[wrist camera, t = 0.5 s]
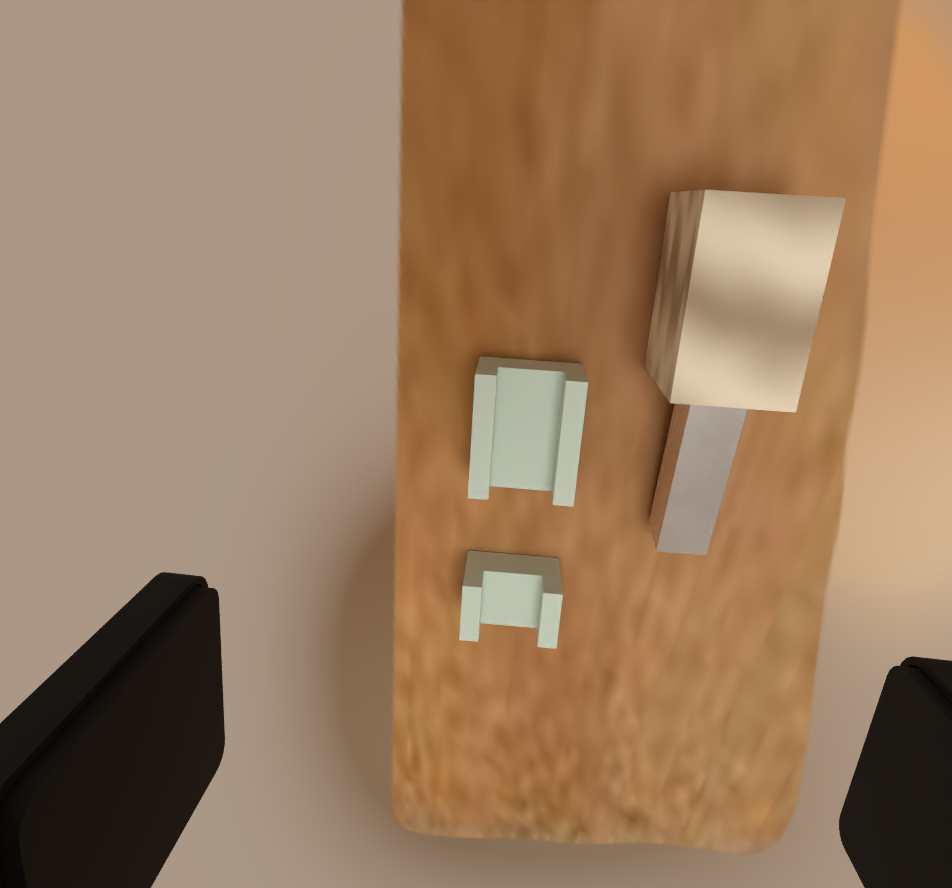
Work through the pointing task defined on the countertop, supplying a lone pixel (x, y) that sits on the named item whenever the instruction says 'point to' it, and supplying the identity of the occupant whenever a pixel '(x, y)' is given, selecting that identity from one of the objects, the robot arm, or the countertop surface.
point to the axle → (694, 476)
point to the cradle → (522, 484)
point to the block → (739, 296)
